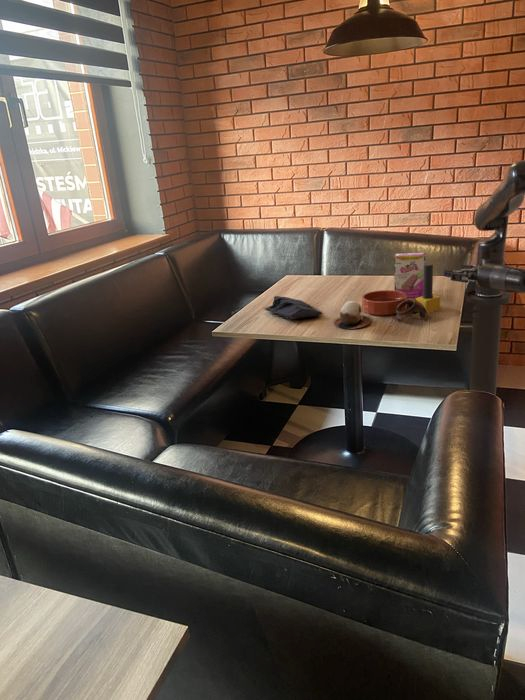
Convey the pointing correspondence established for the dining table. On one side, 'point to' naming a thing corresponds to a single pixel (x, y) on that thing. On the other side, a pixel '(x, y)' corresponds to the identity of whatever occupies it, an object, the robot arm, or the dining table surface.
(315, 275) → the dining table surface
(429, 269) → the sponge wand
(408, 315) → the pottery mug
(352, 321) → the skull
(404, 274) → the candy bar box
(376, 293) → the terracotta ring
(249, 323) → the dining table surface
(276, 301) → the folded black cloth
